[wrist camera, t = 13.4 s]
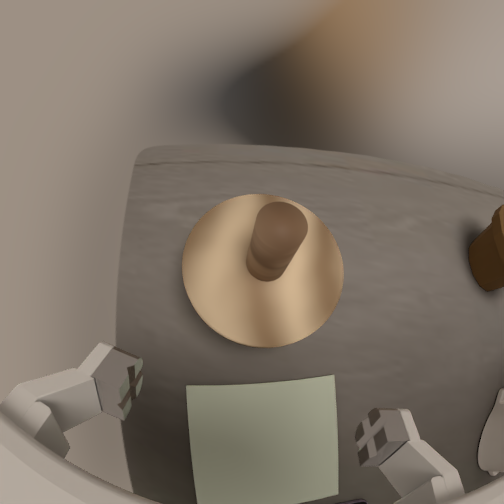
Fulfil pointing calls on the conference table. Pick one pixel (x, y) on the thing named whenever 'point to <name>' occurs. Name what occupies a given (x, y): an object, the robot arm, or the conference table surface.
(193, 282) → the lid
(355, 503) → the smartphone
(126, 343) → the conference table surface
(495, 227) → the flowerpot
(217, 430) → the mat
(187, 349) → the conference table surface
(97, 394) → the robot arm
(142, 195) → the conference table surface
